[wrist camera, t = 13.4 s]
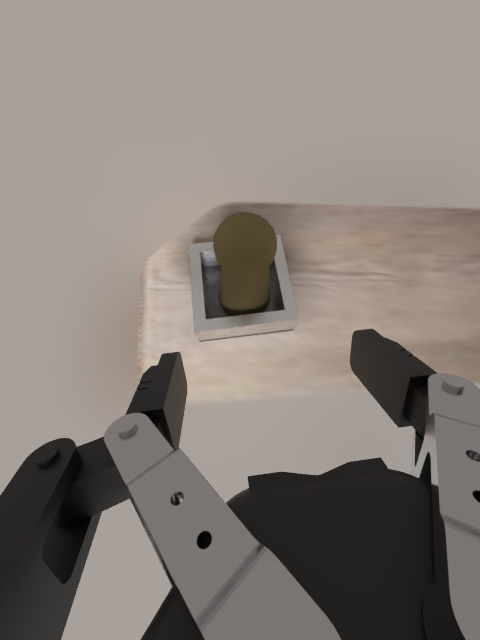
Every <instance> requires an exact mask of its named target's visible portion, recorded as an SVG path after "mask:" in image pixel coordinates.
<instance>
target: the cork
mask: <svg viewBox="0 0 480 640" xmlns="http://www.w3.org/2000/svg"><path fill="white" fill-rule="evenodd" d="M213 249H214V253H215V257H216V259H217V261H218V262H219V264H220V265H221V273H220V285H219V296H218V298H219V302H220V305H221V307H222V308H223V310H224V311H225V312H226V313H227V314H229V315H230V316H238V315H246V314H255V313H263V312H264V311H265V309H266V308H267V307H268V304H269V302H270V280H269V266H270V264H271V263H272V262H273V260H274V257H275V255H276V251H277V237H276V234H275V232H274V229H273V228H272V226H271V225H270V224H269V223H268V222H267V221H266V220H265V219H264V218H262V217H261V216H259V215H256V214H252V213H239V214H234V215H232V216H230V217H228V218H227V219H226V220H224V221H223V222H222V223H221V224H220V225H219V227H218V229H217V231H216V232H215V235H214V242H213Z"/></svg>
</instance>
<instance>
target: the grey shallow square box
mask: <svg viewBox="0 0 480 640" xmlns="http://www.w3.org/2000/svg"><path fill="white" fill-rule="evenodd" d="M276 237H277V251H276V255H275V257H274V260H273V262H272V263H271V264H270V266H269V280H270V302H269V304H268V307H267V308H266V309H265V311H264V312H263V313H255V314H246V315H238V316H230V315H229V314H227V313H226V312H225V311H224V310H223V308H222V307H221V305H220V302H219V298H218V296H219V285H220V273H221V265H220V264H219V262H218V261H217V259H216V257H215V253H214V249H213V242H205V243H196V244H188V247H189V261H190V276H191V290H192V305H193V319H194V333H195V334H196V336H197V338H198V340H199V341H200V342H202V341H210V340H218V339H226V338H234V337H242V336H250V335H258V334H266V333H274V332H282V331H290V330H293V329H294V327H295V326H296V324H297V322H298V321H299V316H298V312H297V307H296V303H295V299H294V294H293V290H292V285H291V281H290V276H289V272H288V267H287V263H286V258H285V254H284V249H283V245H282V241H281V236H280V234H278V235H276Z"/></svg>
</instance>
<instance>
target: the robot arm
mask: <svg viewBox="0 0 480 640" xmlns="http://www.w3.org/2000/svg"><path fill="white" fill-rule="evenodd" d="M350 365H351V369H352V371H353V372H354V374H355V375H356V376H357V377H358V379H359V380H360V381H361V382H362V384H363V385H364V386H365V387H366V388H367V390H368V391H369V392H370V393H371V394H372V396H373V397H374V398H375V399H376V401H377V402H378V403H379V404H380V406H381V407H382V408H383V409H384V410H385V412H386V413H387V414H388V415H389V416H390V417H391V419H392V420H393V421H394V423H395V424H396V425H397V426H398V427H406V426H413V427H414V429H415V430H414V434H413V448H412V475H409V474H407V473H404V472H400V471H396V470H391V469H388V468H387V466H386V465H385V463H384V462H383V460H382V459H381V458H374V459H367V460H361V461H353V462H348V463H346V464H343V465H341V466H339V467H337V468H335V469H332V470H330V471H328V472H326V473H324V474H321V475H306V474H297V473H287V472H276V473H269V474H262V475H255V476H248V482H249V488H248V489H246V490H244V491H242V492H240V493H239V494H237V495H235V496H234V497H233V498H231V499H230V500H229V501H228V502H227V503H225V502H224V501H223V500H222V498H221V497H220V496H219V495H218V493H217V492H216V491H215V490H214V489H213V487H212V486H211V485H210V484H209V482H208V481H207V480H206V479H205V478H204V476H203V475H202V474H201V473H200V472H199V471H198V469H197V468H196V467H195V465H194V464H193V463H192V462H191V461H190V460H189V458H188V457H187V456H186V455H185V453H184V452H183V451H182V450H181V449H180V448H178V447H179V441H180V435H181V428H182V422H183V416H184V409H185V403H186V397H187V381H186V376H185V372H184V367H183V362H182V358H181V354H180V352H173V353H165V354H162V355H161V358H160V361H159V364H158V365H157V366H151V367H150V368H149V369H148V370H147V371H146V372H145V373H144V374H143V376H142V378H141V380H140V384H139V385H138V387H137V391H136V392H135V394H134V397H133V399H132V401H131V403H130V406H129V408H128V410H127V413H126V415H125V416H123V417H121V418H119V419H117V420H116V421H115V422H113V423H112V424H111V425H110V426H109V427H108V429H107V430H106V433H105V435H104V437H102V438H99V439H97V440H94V441H92V442H89V443H86V444H83V445H81V446H78V447H76V445H75V443H74V441H73V440H71V439H69V438H60V439H56V440H53V441H50V442H48V443H46V444H44V445H42V446H41V447H39V448H38V449H36V450H35V451H34V452H33V453H31V455H29V456H28V457H27V458H26V460H25V461H24V462H23V464H22V465H21V466H20V468H19V469H18V471H17V472H16V474H15V475H14V477H13V478H12V479H11V481H10V482H9V484H8V485H7V487H6V488H5V490H4V491H3V493H2V494H1V495H0V640H61V637H62V635H63V631H64V628H65V625H66V622H67V619H68V616H69V613H70V610H71V606H72V603H73V600H74V597H75V594H76V591H77V588H78V585H79V582H80V578H81V575H82V572H83V569H84V566H85V563H86V560H87V556H88V553H89V550H90V547H91V544H92V541H93V538H94V535H95V532H96V529H97V525H98V522H99V519H100V516H101V513H102V511H104V510H106V509H108V508H110V507H112V506H114V505H117V504H119V503H121V502H123V501H125V500H127V499H129V498H130V500H131V502H132V504H133V506H134V508H135V510H136V512H137V514H138V516H139V518H140V521H141V523H142V525H143V527H144V529H145V531H146V533H147V535H148V537H149V539H150V541H151V543H152V545H153V547H154V550H155V552H156V554H157V556H158V558H159V560H160V562H161V564H162V567H163V569H164V571H165V573H166V575H167V577H168V579H169V581H170V583H171V585H172V588H171V590H170V592H169V593H168V595H167V597H166V598H165V600H164V602H163V603H162V605H161V607H160V608H159V610H158V612H157V614H156V615H155V617H154V618H153V620H152V622H151V623H150V625H149V627H148V628H147V630H146V632H145V633H144V635H143V637H142V638H141V640H480V389H478V387H477V386H476V385H474V384H473V383H472V382H470V381H468V380H466V379H464V378H462V377H459V376H456V375H452V374H445V373H436V372H435V371H434V370H432V369H431V368H430V367H428V366H427V365H426V364H425V363H423V362H422V361H421V360H419V359H418V358H417V357H415V356H413V354H411V353H410V352H409V351H406V349H405V348H403V347H402V346H401V345H400V344H398V343H397V342H394V341H392V340H390V339H387V338H384V337H383V336H381V335H380V334H379V333H378V332H376V331H375V330H374V329H365V330H357V331H354V333H353V336H352V344H351V354H350Z"/></svg>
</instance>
